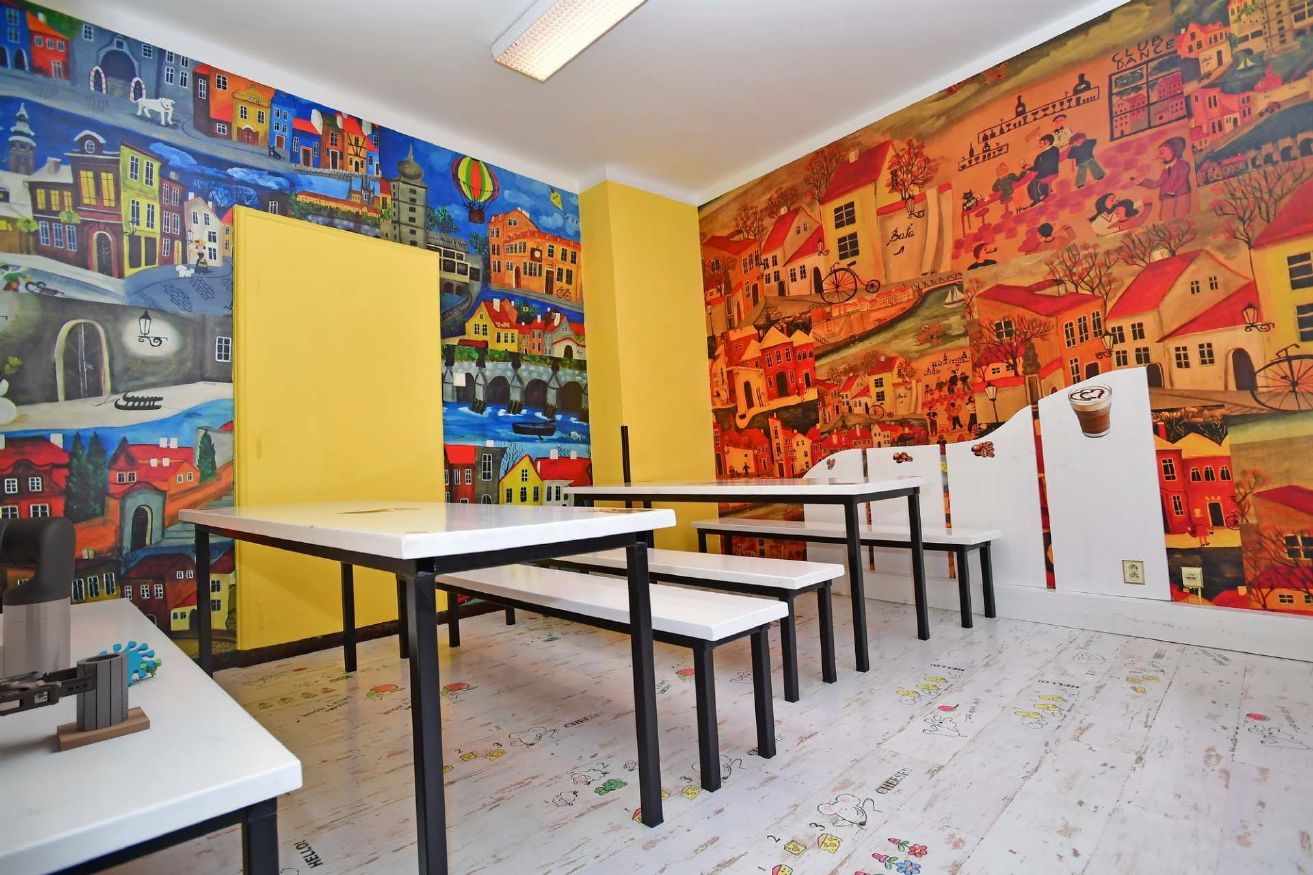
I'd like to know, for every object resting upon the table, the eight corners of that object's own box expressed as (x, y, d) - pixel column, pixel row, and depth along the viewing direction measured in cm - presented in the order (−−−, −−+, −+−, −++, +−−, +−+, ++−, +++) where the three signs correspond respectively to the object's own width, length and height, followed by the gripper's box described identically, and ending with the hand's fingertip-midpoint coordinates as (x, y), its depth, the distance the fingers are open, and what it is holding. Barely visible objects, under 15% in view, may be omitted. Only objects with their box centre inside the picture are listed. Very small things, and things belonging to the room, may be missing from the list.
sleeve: (66, 733, 93) (66, 665, 94) (92, 719, 99) (92, 655, 100) (113, 728, 95) (113, 661, 95) (136, 713, 101) (136, 650, 101)
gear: (77, 686, 115) (101, 639, 123) (84, 703, 119) (107, 655, 126) (149, 685, 119) (169, 638, 127) (154, 700, 123) (173, 655, 130)
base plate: (56, 734, 97) (56, 726, 97) (139, 713, 104) (139, 706, 104) (61, 751, 90) (61, 742, 90) (149, 728, 97) (149, 720, 97)
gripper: (-67, 693, 79) (101, 658, 92) (-79, 676, 87) (76, 646, 100) (-68, 753, 78) (101, 710, 92) (-80, 731, 87) (76, 694, 100)
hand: (88, 677), depth 96 cm, fingers open, 8 cm apart
